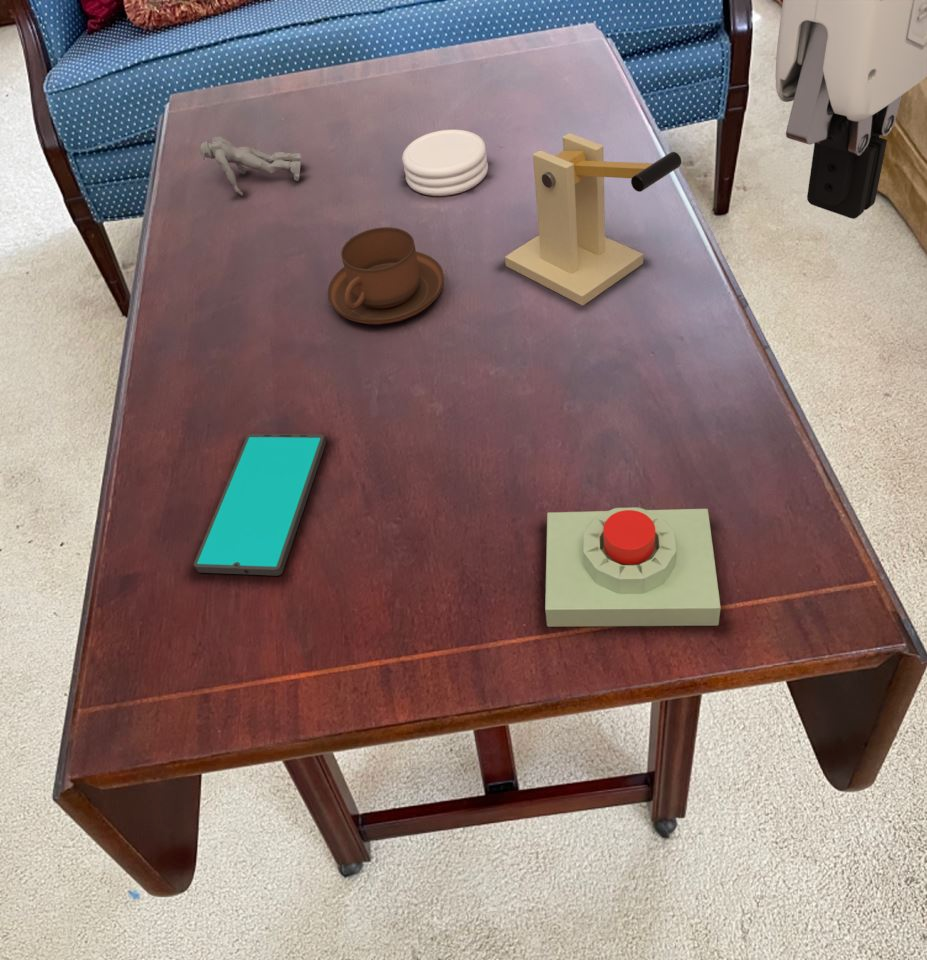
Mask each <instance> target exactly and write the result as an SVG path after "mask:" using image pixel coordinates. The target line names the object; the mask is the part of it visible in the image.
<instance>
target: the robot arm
mask: <svg viewBox="0 0 927 960" xmlns="http://www.w3.org/2000/svg"><path fill="white" fill-rule="evenodd" d="M778 28H779V29H778V37H777V44H776V57H775V91H776V94H777V96H778V98H779V100H780V101H781V102H784V103H791V102H792V105H791V109H790V114H789V118H788V122H787V125H786V131H785V136H786V138H787V139H789V140H792V141H796V142H799V143H802V144H805V145H813V144H814V145H813V152H812V153H813V154H812V159H811V164H810V165H811V167H810V173H809V180H808V188H807V195H806V199H807V202H808V203H809V204H810V205H812V206H814V207H817V208H820V209H823V210H825V211H828V212H831V213H835V214H837V215H839V216H843V217H846V218H849V219H851V220H852V219H853V220H854V219H857V218H859V216H861V215H862V214H864V211H866V210H868V209H870V208H871V207H872V206H873V205H874V204H875V203H876V198H877V194H878V188H879V183H880V178H881V173H882V169H883V168H882V167H883V164H884V158H885V153H886V148H887V143H888V139H885V138H883V137H887V136H888V135H889V134H890V133H891V131H892V130H893V128H894V127H895V123H896V120H897V116H898V112H899V108H900V105H901V101H902V97H903V95H904V94H906V93H907V92H909V91H910V90H912V88H914V87H915V86H917V85H918V84H919V83H920V82H922V81H924V80H925V79H926V78H927V0H782V5H781V13H780V21H779V27H778ZM880 136H882V137H880Z"/></svg>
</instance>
